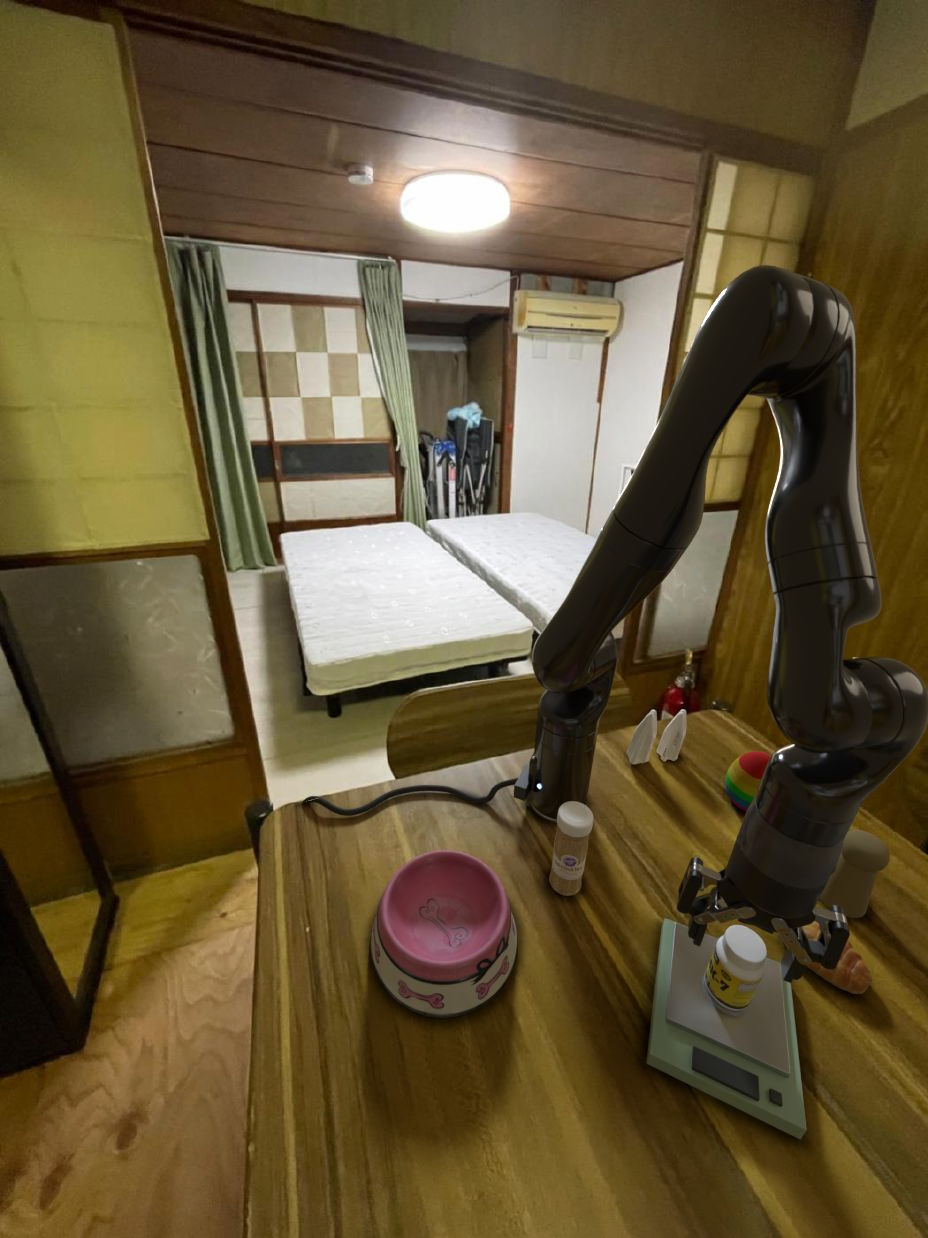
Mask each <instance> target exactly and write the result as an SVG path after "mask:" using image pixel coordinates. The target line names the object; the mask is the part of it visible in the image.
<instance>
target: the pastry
mask: <svg viewBox="0 0 928 1238" xmlns="http://www.w3.org/2000/svg"><path fill="white" fill-rule="evenodd" d="M802 928H803V930H804V932H805V933H806V935H807V937H808V939H809V940H814V941H817V939H818V937H819V934H820V932H821V930H820V927H819V923H817V922H816V921H814V922H813V923H812V924H810V925H806V926H803V927H802ZM778 935H779V937H780V939H781V941H782V943H783V944H784V946H785V948H786V949H787V946H786V944H785V942H784V941H783V939H782V938H781V936H780V934H779V933H778ZM806 968H808V969H809V970H811V971H812V972H814V974H816V975H817V976H819V977H821V978H823V979H824V981H827V982H828V983H829V984H831V985H833V986H835V987H836V988H839V989H840V990H843V991H846V992H848V993H851V994H854V995H862V994H863V993H864V992H866V991H867V990H868V988H869V986H871V984H872V983H873V981H874V979H873V977H872V975H871V972H870V970H869V968H868V966H867V965H866V964H865V962H864V961H863V958H862V955H861V954H860V953H858V951H856V950H855V949H854V948H853V944H852V943H851V941H850V940H848V941H847V943H846V945H845V948H844V950H843V952H842V955H841V957H840V959H839V961H838V964H837V966H836V968H835V969H833V970H830V969H826V968H824V967H823V966H822V965H821V963H817V962H812V964H811V965H807V967H806Z"/></svg>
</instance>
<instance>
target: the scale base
mask: <svg viewBox="0 0 928 1238" xmlns="http://www.w3.org/2000/svg"><path fill="white" fill-rule="evenodd" d="M675 923H678V924H681V925H683V926H686V925H684V924H682V923H679V922H676V921H674V920H671V919H670V918H669V919H668V918H666V917H664V918H663V921H662V925H661V930H660V936H659V937H660V939H659V946H658V947H659V948H658V956H657V964H656V965H657V966H656V974H655V981H654V992H653V999H652V1000H653V1001H652V1008H651V1009H652V1010H651V1018H650V1027H649V1036H648V1045H647V1052H646V1064H647V1065H649V1066H651V1067H652V1068H655V1069H657V1070H658V1071H661V1072H663V1073H665V1074H667V1075H669V1076H670V1077H672V1078H674V1079H676V1080H678V1081H681V1082H683V1083H684V1084H687V1085H688V1086H691V1087H693V1088H695V1089H697V1090H699V1091H701V1092H703V1093H705V1094H707V1095H710V1096H711V1097H713V1098H715V1099H717V1100H720V1101H721V1102H723V1103H725V1104H727V1105H729V1106H731V1107H733V1108H735V1109H738V1110H740V1111H742V1112H744V1113H745V1114H746V1115H747V1114H748V1115H749V1116H752V1117H753V1118H756V1119H758V1120H760V1121H761V1122H764V1123H766V1124H768V1125H770V1126H771V1127H774V1128H776V1129H778V1130H780V1131H781V1132H784V1133H786V1134H787V1135H790V1136H792V1137H794V1138H796V1139H798V1140H801V1139H802V1138H803V1137H804V1135H805V1134H806V1132H807V1130H808V1129H807V1120H806V1111H805V1110H806V1109H805V1101H804V1093H803V1092H804V1091H803V1083H802V1074H801V1073H802V1072H801V1065H800V1056H799V1046H798V1045H799V1044H798V1035H797V1027H796V1019H795V1008H794V1000H793V991H792V990H793V989H792V982H791V983H789V982H786V981H784V980H782V990H783V1001H784V1011H785V1022H786V1032H787V1043H788V1054H789V1064H790V1076H789V1078H786V1077H784V1076H782V1075H780V1074H778V1073H776V1072H773V1071H771V1070H769V1069H767V1068H765V1067H763V1066H760V1065H758V1064H756V1063H754V1062H752V1061H749V1060H747V1059H745V1058H743V1057H741V1056H739V1055H736V1054H734V1053H732V1052H730V1051H728V1050H726V1049H723V1048H721V1047H719V1046H717V1045H715V1044H713V1043H710V1042H708V1041H706V1040H704V1039H702V1038H700V1037H697V1036H695V1035H693V1034H691V1033H689V1032H687V1031H684V1030H682V1029H680V1028H678V1027H676V1026H673V1025H671V1024H669V1023H667V1022H665V1019H666V1008H667V997H668V986H669V975H670V964H671V953H672V942H673V931H674V925H675ZM686 927H688V926H686ZM705 934H706V935H709V936H711V937H714V938H716V939H718V938H717V937H715V936H713V935H710V934H707V933H705ZM767 958H768V957H767ZM768 959H770V960H773V961H775V962H778V961H776V960H774V959H771V958H768ZM778 963H780V969H781V962H778ZM781 979H782V974H781Z"/></svg>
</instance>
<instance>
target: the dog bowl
mask: <svg viewBox="0 0 928 1238" xmlns="http://www.w3.org/2000/svg"><path fill="white" fill-rule="evenodd" d="M371 925H372V926H371V931H370V938H369V939H370V941H369V945H370V946H369V948H370V957H371V963H372V966H373V969H374V971H375V974H376V976H377V978H378V980H379V982H380V983H381V985H382V986H383V987H384V989H385V990H386V991H387V993H388V994H389V995H390V996H391V997H392V998H393V1000H395V1001H396V1002H397V1003H399V1004H400V1005H401V1006H403V1007H404V1008H406V1009H407V1010H409V1011H411V1012H413V1013H416V1014H418V1015H421V1016H424V1017H430V1018H437V1019H448V1018H456V1017H461V1016H464V1015H467V1014H470V1013H473V1012H475V1011H477V1010H478V1009H480V1008H483V1007H484V1006H486V1005H487V1004H488V1003H489V1002H490V1001H492V1000H493V999H494V998H495V997H496V996H497V995H498V994H499V993H500V992H501V991H502V989H503V988H504V987H505V986H506V984H507V982H508V980H509V978H510V976H511V974H512V972H513V969H514V966H515V963H516V959H517V954H518V952H517V951H518V931H517V924H516V921H515V919H514V915H513V913H512V910H511V904H510V900H509V897H508V894H507V892H506V889H505V887H504V886H503V883H502V881H501V880H500V877H498V875H497V874H496V872H495V871H494V869H492V868H491V867H490V866H489V865H488V864H486V863H485V862H483V860H481V859H480V858H477V857H475V856H473V855H471V854H469V853H466V852H464V851H458V850H452V849H451V850H450V849H440V850H439V849H438V850H433V851H427V852H425V853H422V854H420V855H417V856H415V857H413V858H411V859H410V860H408V861H407V862H405V863H403V865H402V866H400V867H399V868H398V869H397V870H396V871H395V873H394V874H393V875H392V877H391V878H390V880H389V881H388V882H387V884H386V887H385V889H384V891H383V892H382V895H381V897H380V899H379V903H378V906H377V911H376V915H375V918H374V920H373V922H372V924H371Z"/></svg>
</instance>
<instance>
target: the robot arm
mask: <svg viewBox="0 0 928 1238" xmlns="http://www.w3.org/2000/svg"><path fill="white" fill-rule="evenodd" d="M703 318H704V319H703V320H702V322H701V324H700V326H699V329H698V330H697V332H696V334H695V337H694V339H693V341H692V343H691V345H690V348H689V350H688V353H687V355H686V357H685V359H684V361H683V364H682V366H681V369H680V371H679V373H678V376H677V378H676V381H675V383H674V384H673V385H674V386H673V388H672V390H671V393H670V395H669V396H668V399H667V402H666V404H665V406H664V409H663V411H662V413H661V416H660V418H659V419H658V422H657V425H656V426H655V428H654V431H653V432H652V435H651V437H650V439H649V441H648V442H647V445H646V446H645V449H644V450H643V453H642V454H641V456H640V458H639V461H638V463H637V464H636V467H635V468H634V470H633V473H632V474H631V476H630V478H629V479H628V482H627V484H626V485H625V487H624V489H623V490H622V492H621V494H620V495H619V496H618V498H617V500H616V501H615V504H614V506H613V508H612V509H611V511H610V513H609V515H608V517H607V519H606V521H605V522H604V524H603V526H602V528H601V530H600V532H599V534H598V536H597V538H596V540H595V543H594V544H593V545H592V546H593V547H592V548H591V550H590V552H589V554H588V556H587V557H586V559H585V561H584V563H583V565H582V566H581V568H580V570H579V572H578V574H577V576H576V578H575V580H574V582H573V584H572V586H571V588H570V589H569V591H568V594H567V595H566V597H565V599H564V600H563V601H562V603H561V604H560V606H559V607H558V609H557V610H556V612H555V613H554V614H553V616H552V617H551V619H550V620H549V621H548V623H547V624H546V625H545V627H544V628H543V630H542V631H541V632H540V634H539V635H538V636H537V639H536V640H535V643H534V645H533V648H532V652H531V653H532V654H531V665H532V666H531V667H532V670H533V674H534V676H535V678H536V680H537V682H538V683H539V684H540V685H541V686H542V687H543V688H544V689H545V691H544V692H543V693H542V695H541V696H540V698H539V701H538V705H537V717H536V718H537V719H536V728H535V737H534V748H533V753H532V755H531V757H530V759H529V763H528V764H527V763H525V764H524V766H523V767H522V769H521V772H519V775H518V777H515V778H510V779H506V780H502V781H500V782H498V783H496V784H494V786H492V787H491V789H490V791H489V792H488V794H487V795H486V796H479V797H478V796H474V795H470V794H468V793H466V792H464V791H461V790H459V789H456V788H454V787H451V786H448V785H440V784H439V785H438V784H419V785H412V786H411V785H410V786H404V787H400V788H397V789H396V788H395V789H393V790H390V791H388V792H386V793H384V794H382V795H380V796H379V797H376V798H374V799H373V800H372V801H370V802H368V803H365V804H364V805H363V806H360V807H355V808H342V807H340V806H337V805H335V804H333V803H332V802H330V801H329V800H327V799H326V798H324V797H321V796H318V795H310V796H307V797H305V798H304V799H303V801H302V802H303V803H302V804H303V805H309V804H311V803H316V804H319V805H321V807H324V809H327V810H329V811H330V812H332V813H334V814H336V815H340V816H343V817H345V816H346V817H351V816H357V815H361V814H364V813H366V812H368V811H370V810H373V809H374V808H376V807H377V806H379V805H381V804H382V803H384V802H385V801H388V800H389V799H392V798H394V797H397V796H400V795H405V794H410V793H417V792H438V793H446V794H451V795H453V796H456V797H458V798H460V799H462V800H464V801H466V802H470V803H474V804H487V803H489V802H491V801H492V800H493V799H494V798H495V795H496V794H497V792H499V791H500V790H501V789H503V788H504V789H505V788H507V787H510V786H513V798H514V799H517V800H520V801H524V802H525V806H526V807H529V808H531V809H532V811H533V813H535V814H536V815H537V816H538V817H540V818H541V819H543V820H545V821H546V822H550V823H553V824H557V815H558V810H559V808H560V806H561V805H562V804H564V803H566V802H569V801H576V802H580V803H582V804H584V805H586V806H587V802H588V794H589V789H590V782H591V775H592V770H593V763H594V758H595V752H596V746H597V739H598V734H599V727H600V721H601V718H602V716H603V714H604V712H605V711H606V710H607V707H608V704H609V700H610V698H611V693H612V687H613V683H614V679H615V673H616V670H617V663H618V647H617V642H616V638H615V636H614V634H613V630H614V629H616V627H617V626H618V625H619V624H620V623H621V622H622V621H623V620H624V619H626V617H628V616H629V615H630V614H631V613H632V612H633V611H634V610H635V609H636V608H637V607H639V606H640V604H642V603H643V602H644V601H645V600H646V599H647V598H648V597H649V596H650V595H651V594H652V593H653V592H654V591H655V590H656V589H657V588H658V587H660V585H661V584H662V583H663V582H664V580H665V579H666V578H667V577H668V576H669V574H671V572H672V571H673V569H675V567H676V565H677V564H678V562H679V561H680V559H681V558H682V556H683V555H684V553H685V552H686V550H687V549H688V548H689V546H690V545H691V543H692V542H693V540H694V538H695V537H696V535H697V534H698V531H699V529H700V527H701V524H702V520H703V516H704V511H705V502H706V490H707V489H706V486H707V475H708V474H707V473H708V467H709V463H710V459H711V457H712V454H713V452H714V448H715V446H716V444H717V442H718V441H719V439H720V437H721V435H722V434H723V432H724V431H725V429H726V427H727V425H728V423H729V422H730V420H731V419H732V418H733V415H734V414H735V412H736V411H737V410H738V408H739V406H740V405H741V404H742V403H743V401H744V400H745V398H747V396H751V397H755V398H761V399H766V401H767V402H768V406H769V407H770V410H771V413H772V415H773V418H774V421H775V425H776V427H777V432H778V438H779V446H780V456H779V457H780V458H779V459H780V460H779V464H778V465H779V467H778V472H777V477H776V479H775V484H774V487H773V490H772V493H771V497H770V500H769V505H768V508H767V514H766V518H765V529H764V544H765V545H764V546H765V554H766V561H767V565H768V572H769V576H770V585H771V588H772V589H771V591H772V594H773V600H774V605H775V618H774V619H775V620H774V626H773V631H772V633H773V634H772V642H771V650H770V658H769V666H768V673H767V683H766V699H767V706H768V709H769V713H770V715H771V718H772V720H773V723H774V724H775V726H776V728H777V729H778V731H779V732H780V734H781V735H782V736H783V737H784V738H785V739H786V740H787V741H788V742H789V744H785V745H784V746H781V747H780V748H779V749H777V750H775V751H774V752H773V753H772V755H770V756H771V758H770V760H769V762H768V763H767V766H766V768H765V771H764V774H763V776H762V779H761V782H760V785H759V787H758V790H757V793H756V796H755V798H754V799H753V801H752V803H751V804H750V806H749V808H748V809H747V812H746V811H745V814H744V816H743V819H742V822H741V825H740V827H739V830H738V834H737V835H736V839H735V842H734V844H733V847H732V851H731V853H730V855H729V859H728V860H727V864H726V866H725V867H724V868H723V869H721V870H720V871H717V870H714V869H711V868H709V867H706V866H704V861H703V859H702V858H700V857H697V856H694V857H691V858H690V860H689V863H688V864H687V867H686V870H685V872H684V874H683V877H682V879H681V881H680V884H679V887H678V891H677V892H678V893H677V894H678V895H677V903H676V909H677V911H678V912H679V913H680V914H684V915H687V914H688V915H690V917H689V920H688V926H687V927H688V936H689V937H690V938H692V939H693V944H694V945H697V946H699V947H700V945H701V943H702V940H703V937H704V934H706V931H707V930H708V924H710V923H714V922H718V923H719V924H726V923H728V922H732V921H735V920H737V921H738V922H740V923H742V924H745V925H749V926H753V927H756V928H758V929H759V930H761V931H763V932H766V933H768V934H771V935H773V934H774V933H778V935H779V934H780V935H779V937H780V936H781V937H780V939H781V938H782V939H783V941H784V942H785V944H786V946H787V948H786V949H785V951H784V953H783V956H782V958H781V960H780V963H781V974H782V980H784V981H786V982H789V983H791V984H792V982H793V980H795V981H798V980H801V978H802V977H803V975H804V973H805V971H806V969H807V968H808V967H807V965H811V964H812V962H817V963H821V965H822V966H823V967H824V968H826V969H830V970H833V969H835V968H836V966H837V964H838V961H839V959H840V957H841V955H842V952H843V950H844V948H845V945H846V943H847V941H849V938H850V936H851V932H850V928H849V923H848V919H847V918H848V917H846V913H845V910H844V909H843V908H842V907H840V906H836V905H834V906H831V907H830V908H829V909H826V908H823V907H819V906H817V904H818V903H819V901H820V899H819V898H820V896H821V894H822V892H823V890H824V888H825V886H826V884H827V882H828V880H829V878H830V876H831V874H833V872H835V870H836V867H837V862H838V859H839V857H840V854H841V850H842V846H843V842H844V839H845V836H846V835H847V833H848V831H850V828H851V827H852V824H853V822H854V820H855V818H856V816H857V814H858V812H859V810H860V807H861V805H862V803H863V801H865V799H866V798H867V797H868V796H869V795H870V794H872V793H873V792H874V791H875V790H876V789H877V788H879V787H880V786H881V785H882V784H883V783H884V782H885V781H886V780H887V779H888V777H890V775H891V774H892V773H894V771H895V770H896V769H897V768H898V767H899V766H900V765H901V764H902V763H903V762H904V761H905V760H906V759H907V757H909V755H910V754H911V753H912V752H913V751H914V749H915V748H916V747H917V745H918V744H919V742H920V740H921V739H922V737H923V735H924V734H925V731H926V729H927V726H928V689H927V686H926V684H925V683H924V681H923V680H922V678H921V677H920V675H919V674H918V673H917V671H915V670H914V669H913V668H912V667H911V666H909V665H907V664H905V663H903V662H902V661H900V660H897V659H894V658H891V657H886V656H876V655H875V656H874V655H873V656H872V655H871V656H856V657H845V658H844V653H845V648H846V647H845V646H846V640H847V636H848V631H849V630H850V629H851V628H854V627H857V626H861V625H864V624H866V623H868V622H870V621H872V620H873V619H875V618H877V616H878V615H879V614H880V613H881V610H882V605H883V600H882V592H881V586H880V581H879V574H878V570H877V565H876V560H875V555H874V550H873V546H872V541H871V536H870V532H869V527H868V523H867V518H866V513H865V507H864V502H863V501H864V500H863V493H862V486H861V476H860V467H859V466H860V465H859V449H858V426H857V425H858V423H857V421H858V419H857V335H856V334H857V333H856V323H855V322H856V321H855V315H854V310H853V307H852V304H851V302H850V301H849V299H848V298H847V296H846V294H844V293H843V292H841V291H840V290H838V289H837V288H835V286H832V285H830V284H828V283H825V282H823V281H819V280H817V279H814V278H811V277H809V276H806V275H804V274H800V273H797V272H794V271H793V270H789V269H786V268H783V267H780V266H776V265H770V264H760V265H756V266H753V267H751V268H749V269H747V270H745V271H743V272H742V273H740V274H739V275H737V276H736V277H735V278H734V279H732V280H731V281H730V282H729V284H727V285H726V286H725V287H724V289H723V290H722V291H721V292H720V294H718V296H717V298H715V301H714V302H713V304H712V305H711V306H710V308H709V309H708V311H707V314H706V315H705V316H704V317H703ZM320 797H321V798H320ZM315 798H319V799H315ZM311 799H315V800H312V801H308V800H311ZM306 801H307V802H306ZM709 886H714V887H712V888H711V889H710V891H708V892H707V893H703V894H700V895H698V893H699V891H700V892H705V889H707V888H708V887H709ZM697 895H698V896H697ZM814 921H816V922H817V923H819V927H820V930H821V932H820V934H819V937H818V939H817V941H814V940H809V939H808V937H807V935H806V933H805V932H804V930H803V928H802V927H803V926H806V925H810V924H812V923H813V922H814ZM782 939H781V940H782ZM783 941H782V942H783ZM784 942H783V943H784ZM785 944H784V945H785ZM786 946H785V947H786Z"/></svg>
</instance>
